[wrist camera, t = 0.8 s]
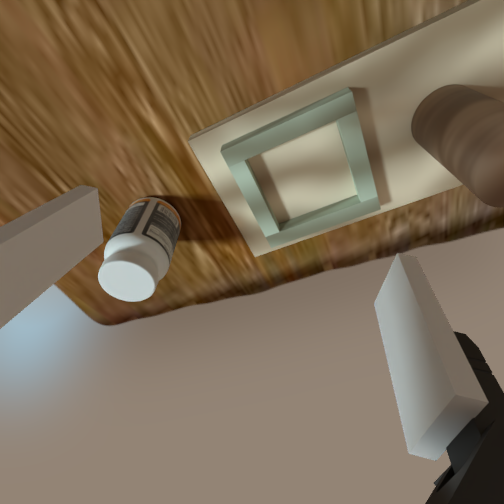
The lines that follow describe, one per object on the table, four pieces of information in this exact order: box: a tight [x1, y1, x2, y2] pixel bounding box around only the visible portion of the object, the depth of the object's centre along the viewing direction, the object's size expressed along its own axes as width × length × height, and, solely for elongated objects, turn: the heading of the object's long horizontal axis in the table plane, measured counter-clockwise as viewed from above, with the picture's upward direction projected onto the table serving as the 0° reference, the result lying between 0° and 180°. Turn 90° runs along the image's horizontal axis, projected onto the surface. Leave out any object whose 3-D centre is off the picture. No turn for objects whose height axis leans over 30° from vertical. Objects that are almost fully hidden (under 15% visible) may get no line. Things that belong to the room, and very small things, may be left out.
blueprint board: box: [188, 0, 504, 257], centre depth 25 cm, size 14×26×12 cm, turn 115°
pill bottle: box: [98, 197, 181, 302], centre depth 30 cm, size 6×6×10 cm
